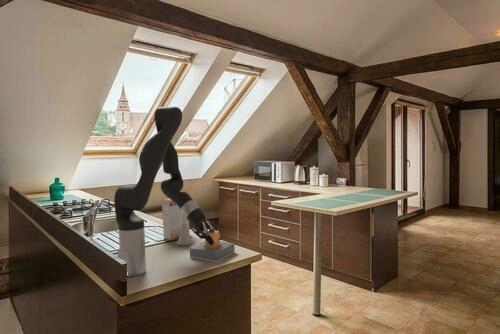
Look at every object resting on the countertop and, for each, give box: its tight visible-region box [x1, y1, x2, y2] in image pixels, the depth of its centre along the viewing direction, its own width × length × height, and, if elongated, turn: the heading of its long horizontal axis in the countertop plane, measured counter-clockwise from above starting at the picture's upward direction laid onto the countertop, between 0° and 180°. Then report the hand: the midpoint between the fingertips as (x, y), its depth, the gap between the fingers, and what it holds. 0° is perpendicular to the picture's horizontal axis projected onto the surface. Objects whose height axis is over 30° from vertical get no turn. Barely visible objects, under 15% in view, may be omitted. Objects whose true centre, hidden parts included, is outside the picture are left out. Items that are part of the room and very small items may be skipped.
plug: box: [204, 228, 220, 249], centre depth 148 cm, size 4×4×10 cm
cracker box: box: [161, 197, 190, 241], centre depth 178 cm, size 14×6×21 cm, turn 149°
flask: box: [176, 223, 194, 246], centre depth 166 cm, size 7×7×10 cm
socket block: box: [189, 240, 235, 263], centre depth 148 cm, size 14×14×4 cm
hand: (216, 242), depth 147 cm, fingers closed on plug, 4 cm apart
